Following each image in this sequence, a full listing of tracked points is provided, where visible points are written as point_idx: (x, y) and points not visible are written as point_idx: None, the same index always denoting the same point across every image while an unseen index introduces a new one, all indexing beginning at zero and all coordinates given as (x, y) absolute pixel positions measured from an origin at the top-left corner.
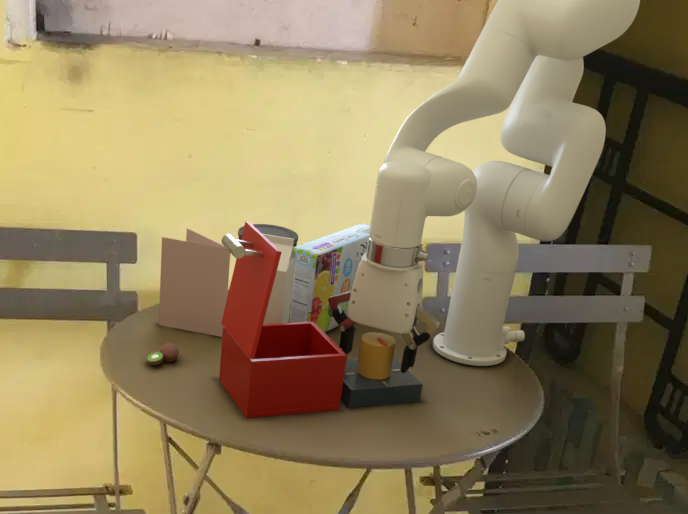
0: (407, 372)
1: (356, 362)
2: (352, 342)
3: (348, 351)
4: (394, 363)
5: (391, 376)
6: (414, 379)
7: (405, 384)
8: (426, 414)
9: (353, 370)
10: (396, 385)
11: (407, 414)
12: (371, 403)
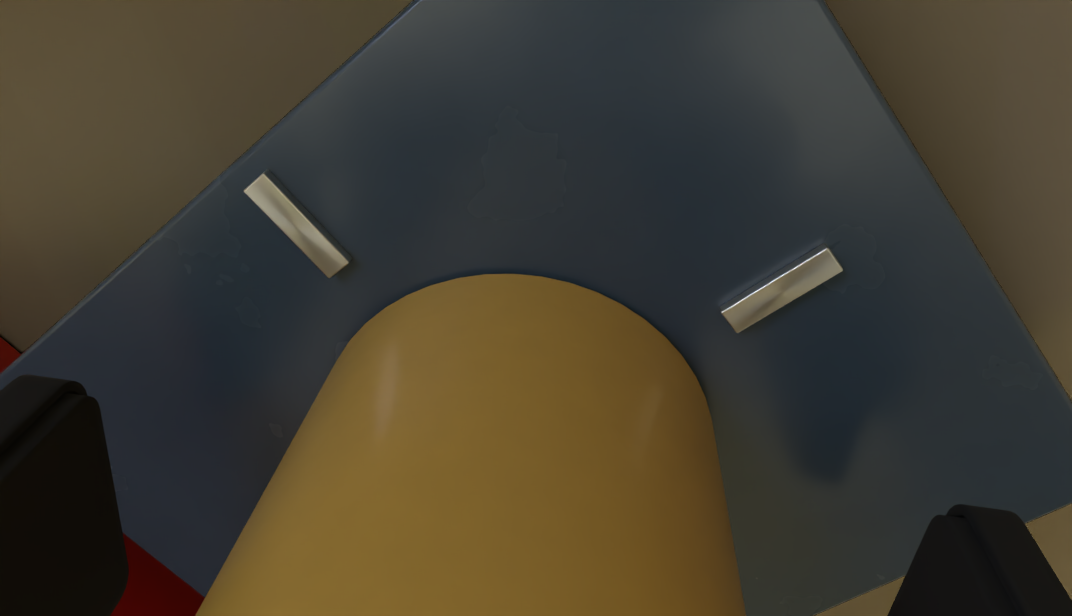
0: (930, 268)
1: (248, 280)
2: (13, 489)
3: (96, 526)
4: (723, 58)
5: (730, 453)
6: (1019, 414)
7: (903, 559)
8: (1065, 536)
9: None
10: (805, 611)
11: (898, 585)
12: None
